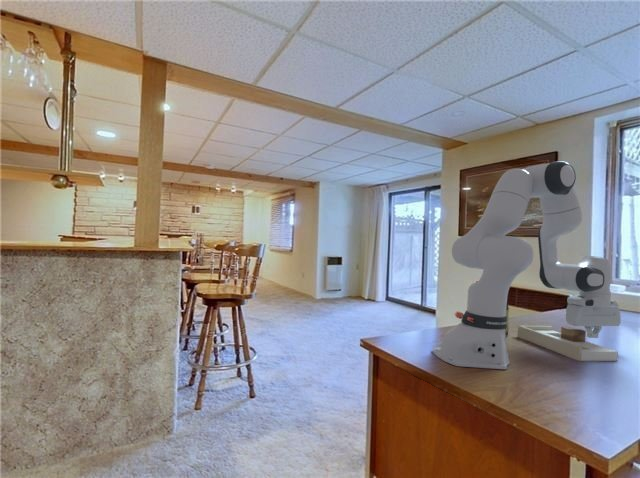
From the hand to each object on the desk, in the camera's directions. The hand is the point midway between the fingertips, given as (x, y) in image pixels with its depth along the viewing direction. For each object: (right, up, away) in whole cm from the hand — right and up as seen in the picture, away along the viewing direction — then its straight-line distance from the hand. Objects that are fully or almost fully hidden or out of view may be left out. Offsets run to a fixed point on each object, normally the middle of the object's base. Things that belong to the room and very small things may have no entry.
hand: (592, 337), depth 120 cm
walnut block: (-7, -1, 0) cm, 7 cm away
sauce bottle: (-27, -3, +13) cm, 30 cm away
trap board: (-11, -4, 0) cm, 12 cm away
